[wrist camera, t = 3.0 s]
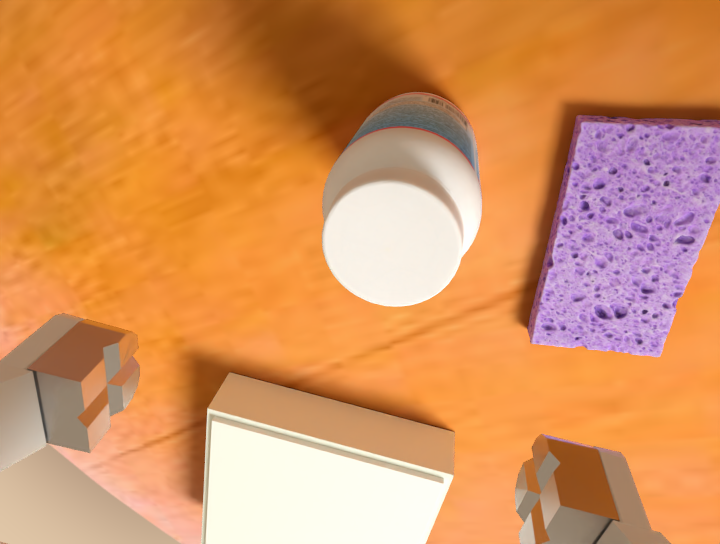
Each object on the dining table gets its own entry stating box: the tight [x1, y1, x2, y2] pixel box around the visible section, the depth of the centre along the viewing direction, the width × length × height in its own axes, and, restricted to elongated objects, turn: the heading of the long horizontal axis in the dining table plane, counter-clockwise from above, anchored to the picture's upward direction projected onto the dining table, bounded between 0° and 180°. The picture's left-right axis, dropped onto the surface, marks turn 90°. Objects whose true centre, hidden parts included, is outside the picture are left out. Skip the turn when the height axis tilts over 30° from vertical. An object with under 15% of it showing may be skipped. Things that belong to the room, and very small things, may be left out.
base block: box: [201, 372, 455, 544], centre depth 38 cm, size 16×16×4 cm
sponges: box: [527, 115, 720, 357], centre depth 26 cm, size 7×13×2 cm, turn 178°
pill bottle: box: [322, 92, 482, 306], centre depth 22 cm, size 6×6×11 cm
